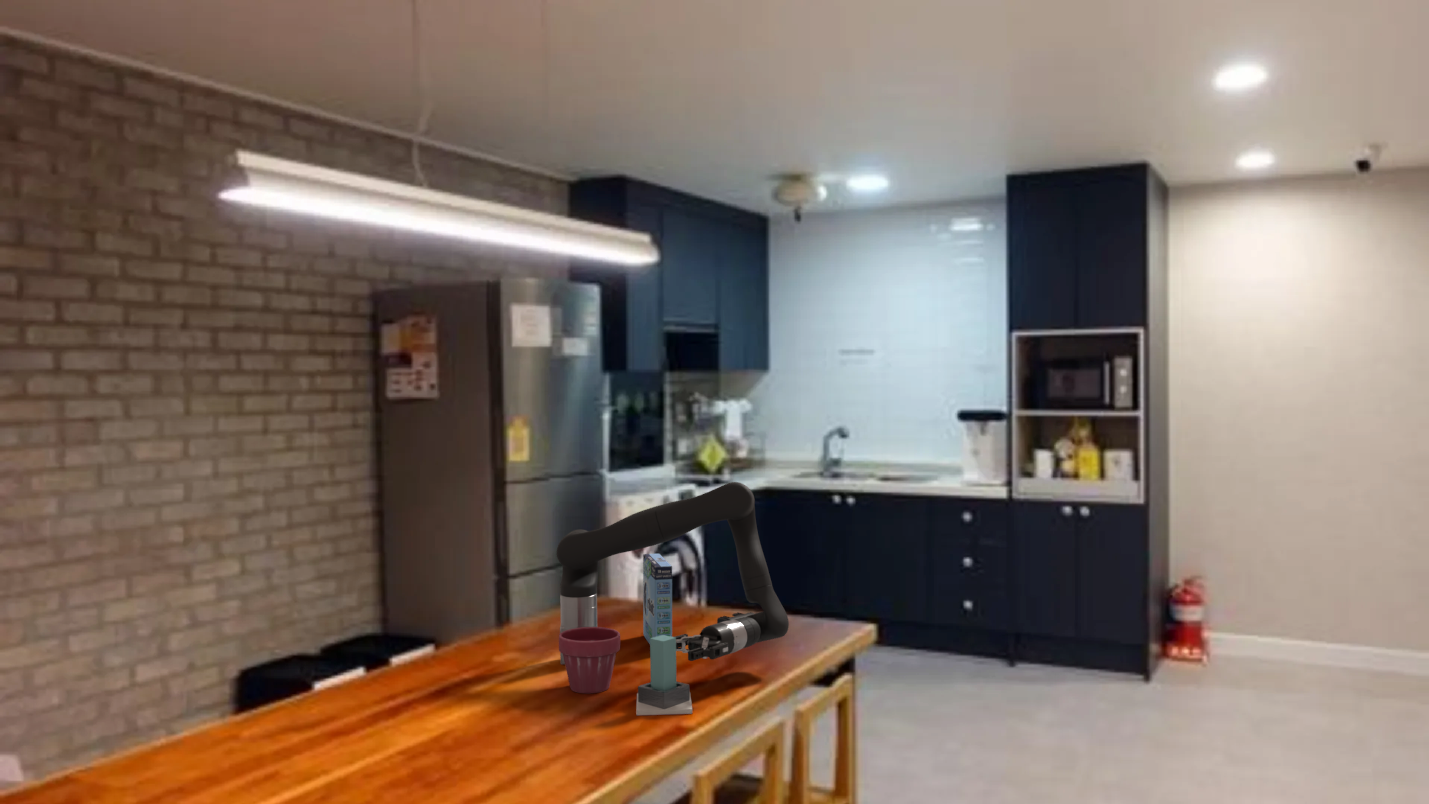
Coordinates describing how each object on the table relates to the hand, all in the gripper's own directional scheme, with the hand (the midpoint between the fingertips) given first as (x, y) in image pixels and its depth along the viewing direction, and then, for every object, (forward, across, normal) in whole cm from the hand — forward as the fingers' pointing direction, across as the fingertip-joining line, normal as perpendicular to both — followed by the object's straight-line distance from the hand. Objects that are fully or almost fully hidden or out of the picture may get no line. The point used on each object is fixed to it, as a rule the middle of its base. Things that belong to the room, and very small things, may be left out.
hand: (675, 653), depth 238 cm
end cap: (-50, -25, +11) cm, 57 cm away
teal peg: (+4, 0, +10) cm, 11 cm away
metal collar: (+4, 0, +11) cm, 12 cm away
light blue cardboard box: (-33, -38, +11) cm, 52 cm away
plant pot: (+5, -23, +11) cm, 26 cm away
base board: (+4, 0, +11) cm, 12 cm away
